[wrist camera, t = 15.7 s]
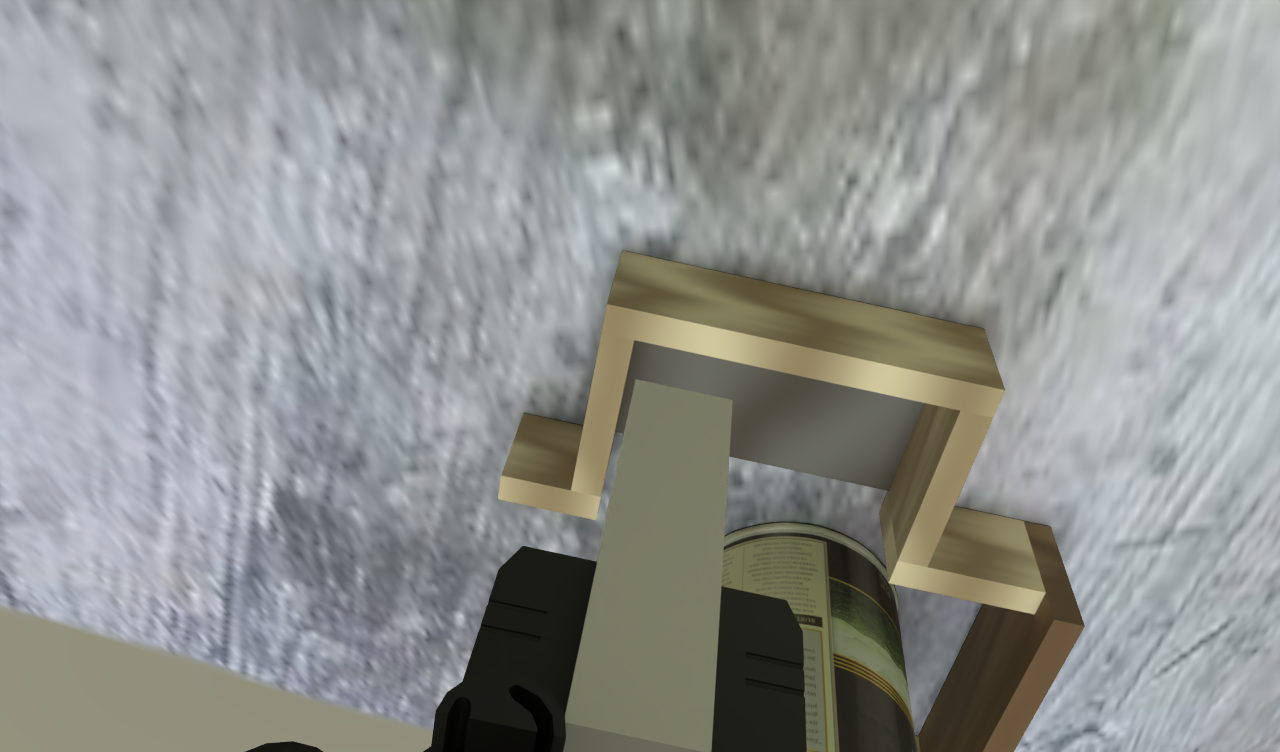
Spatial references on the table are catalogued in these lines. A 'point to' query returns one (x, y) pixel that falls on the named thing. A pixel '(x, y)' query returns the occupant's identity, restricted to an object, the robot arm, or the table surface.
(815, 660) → the coffee can
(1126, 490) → the table surface
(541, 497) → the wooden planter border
